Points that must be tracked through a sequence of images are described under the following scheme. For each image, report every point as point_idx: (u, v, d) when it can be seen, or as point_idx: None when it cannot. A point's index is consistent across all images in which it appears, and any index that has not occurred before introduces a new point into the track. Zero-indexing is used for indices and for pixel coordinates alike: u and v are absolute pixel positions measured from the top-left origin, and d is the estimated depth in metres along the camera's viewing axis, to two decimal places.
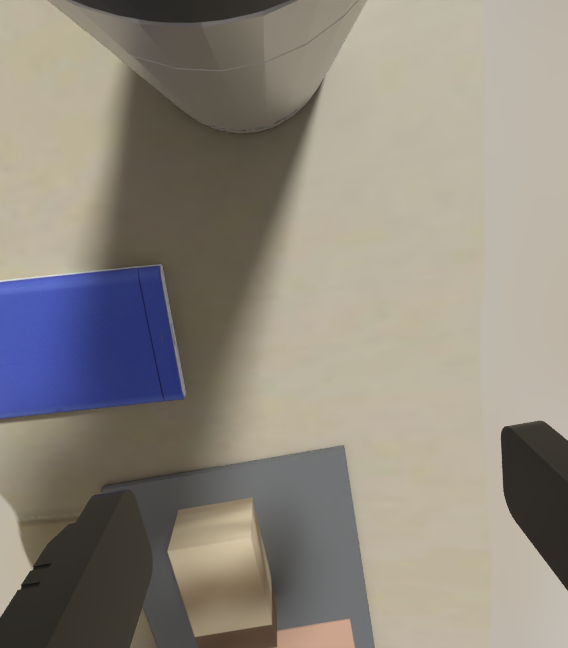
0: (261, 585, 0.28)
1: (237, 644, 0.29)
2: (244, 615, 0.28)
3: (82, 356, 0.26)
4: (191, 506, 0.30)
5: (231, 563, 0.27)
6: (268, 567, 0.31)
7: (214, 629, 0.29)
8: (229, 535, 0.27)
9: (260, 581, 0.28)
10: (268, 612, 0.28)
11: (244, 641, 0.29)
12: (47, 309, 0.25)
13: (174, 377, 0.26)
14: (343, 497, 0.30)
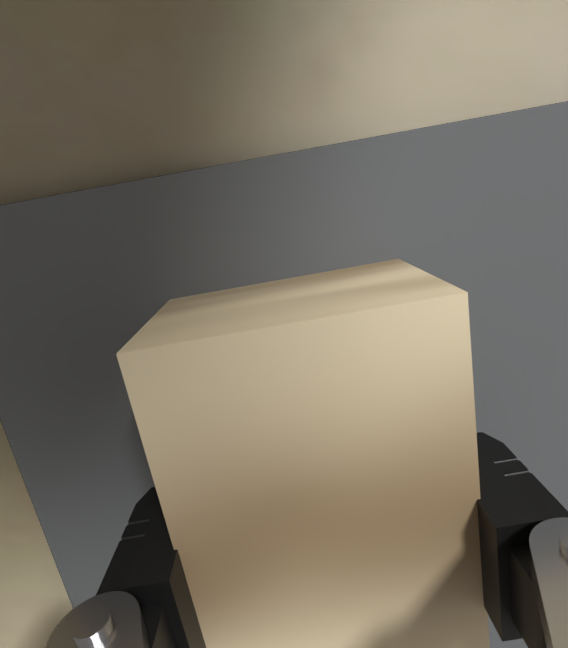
0: (477, 514, 0.07)
1: None
2: (400, 631, 0.08)
3: None
4: (209, 287, 0.10)
5: (375, 415, 0.07)
6: None
7: None
8: (367, 301, 0.07)
9: (476, 498, 0.07)
10: (484, 621, 0.08)
11: None
12: None
13: None
14: None
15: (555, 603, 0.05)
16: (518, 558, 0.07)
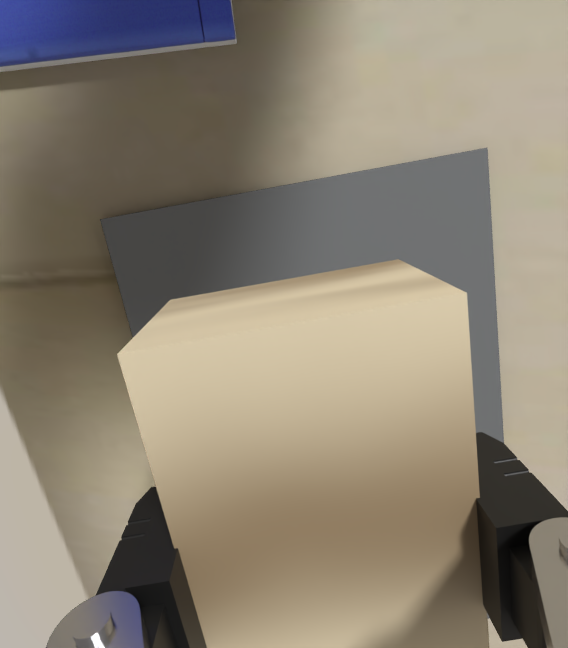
0: (476, 514, 0.07)
1: None
2: (399, 630, 0.08)
3: None
4: (241, 253, 0.19)
5: (375, 415, 0.07)
6: None
7: None
8: (366, 301, 0.07)
9: (475, 497, 0.07)
10: (483, 620, 0.08)
11: None
12: None
13: None
14: (479, 241, 0.19)
15: (555, 603, 0.05)
16: (518, 558, 0.07)
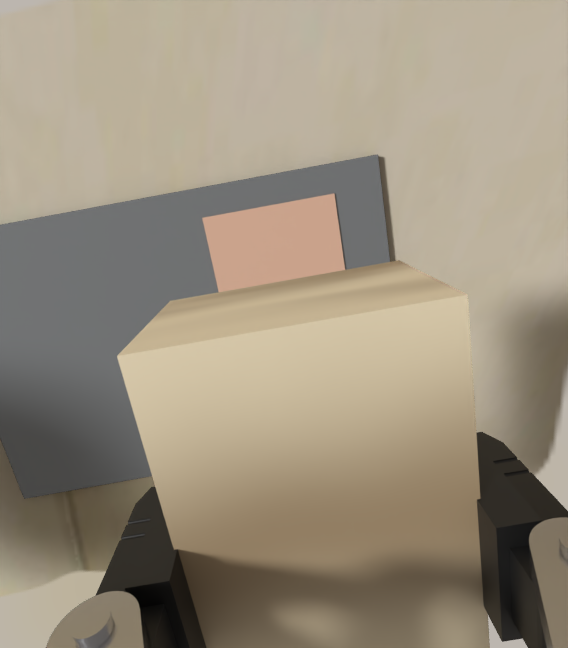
0: (477, 516, 0.07)
1: None
2: (400, 632, 0.08)
3: None
4: (33, 413, 0.26)
5: (376, 417, 0.07)
6: None
7: None
8: (366, 303, 0.07)
9: (476, 499, 0.07)
10: (484, 622, 0.08)
11: None
12: None
13: None
14: None
15: (555, 603, 0.05)
16: (518, 558, 0.07)
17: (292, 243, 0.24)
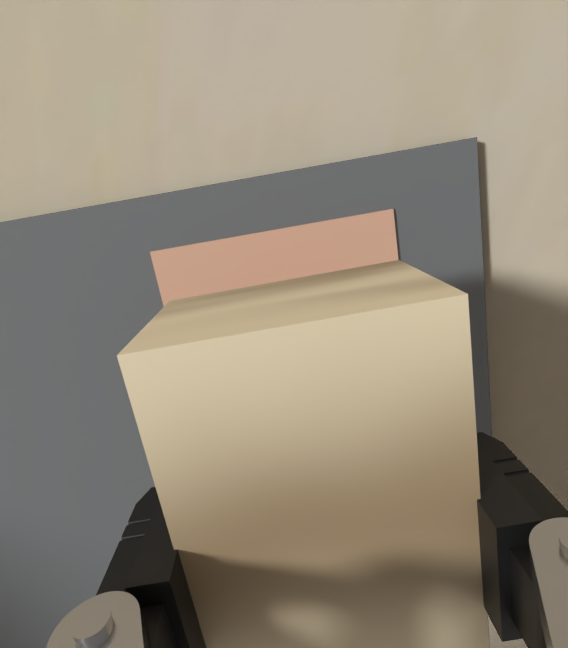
0: (477, 516, 0.07)
1: None
2: (400, 632, 0.08)
3: None
4: None
5: (376, 416, 0.07)
6: None
7: None
8: (367, 303, 0.07)
9: (476, 499, 0.07)
10: (484, 621, 0.08)
11: None
12: None
13: None
14: None
15: (555, 603, 0.05)
16: (518, 558, 0.07)
17: None
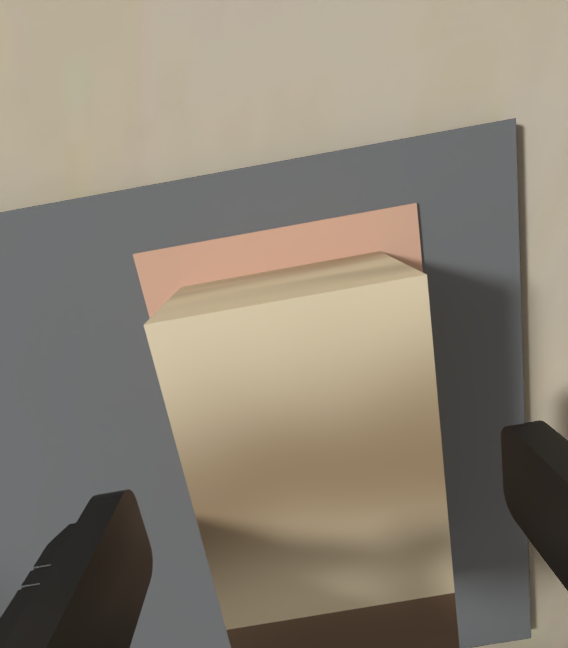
0: (440, 461, 0.09)
1: None
2: (377, 562, 0.09)
3: None
4: None
5: (354, 376, 0.08)
6: None
7: (285, 606, 0.10)
8: (346, 283, 0.08)
9: (438, 446, 0.09)
10: (448, 554, 0.09)
11: (369, 644, 0.10)
12: None
13: None
14: None
15: None
16: None
17: None
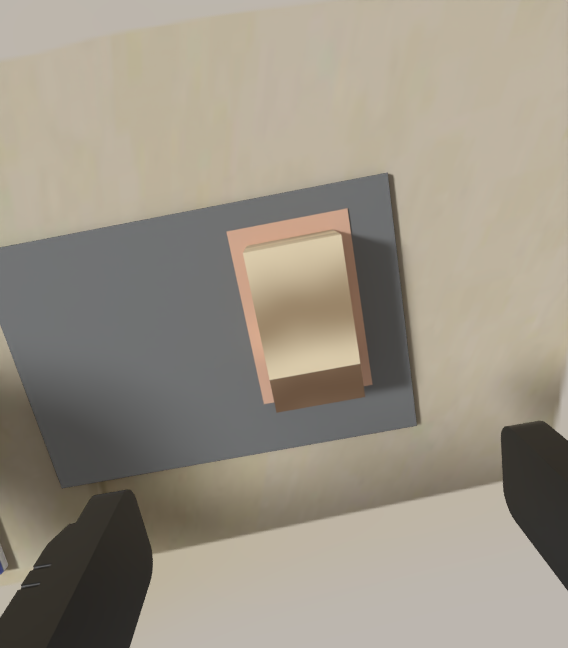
0: (350, 306, 0.23)
1: (318, 391, 0.25)
2: (328, 349, 0.24)
3: None
4: (71, 410, 0.29)
5: (317, 272, 0.23)
6: None
7: (292, 369, 0.24)
8: (314, 238, 0.23)
9: (349, 300, 0.23)
10: (356, 346, 0.24)
11: (327, 387, 0.25)
12: None
13: None
14: (38, 250, 0.26)
15: None
16: None
17: None
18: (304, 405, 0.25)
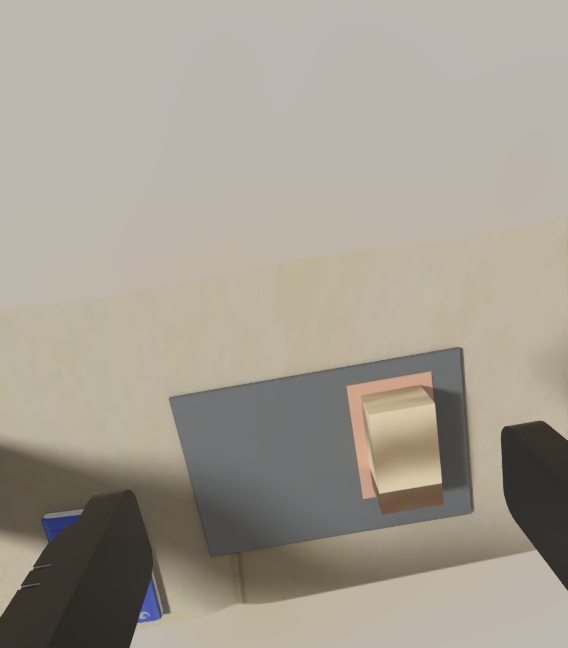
0: (438, 447, 0.35)
1: (412, 501, 0.36)
2: (421, 474, 0.35)
3: None
4: (224, 502, 0.40)
5: (417, 426, 0.34)
6: None
7: (396, 486, 0.36)
8: (415, 403, 0.34)
9: (437, 443, 0.35)
10: (440, 472, 0.35)
11: (418, 498, 0.36)
12: None
13: None
14: (214, 397, 0.37)
15: None
16: None
17: None
18: (401, 509, 0.36)
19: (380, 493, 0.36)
